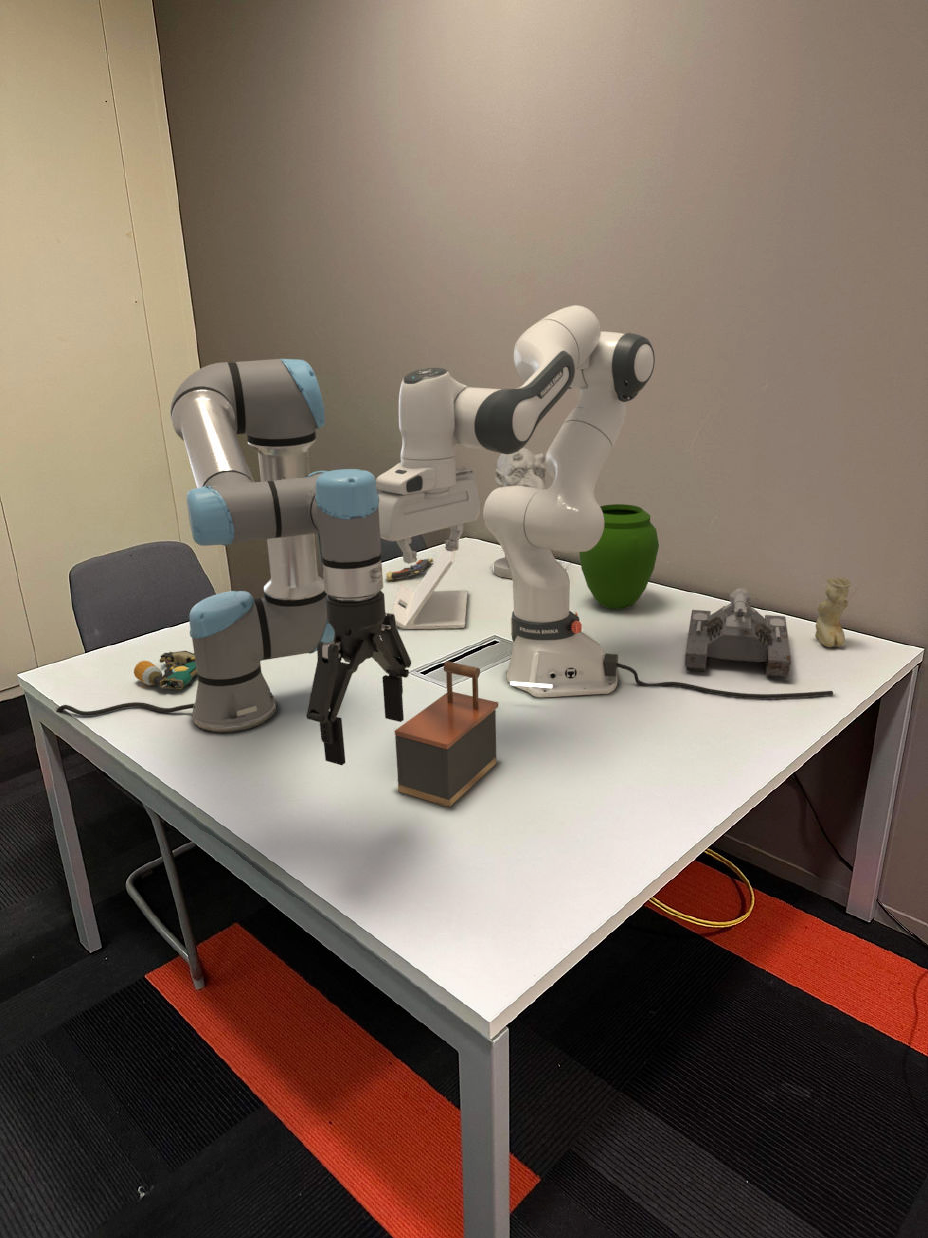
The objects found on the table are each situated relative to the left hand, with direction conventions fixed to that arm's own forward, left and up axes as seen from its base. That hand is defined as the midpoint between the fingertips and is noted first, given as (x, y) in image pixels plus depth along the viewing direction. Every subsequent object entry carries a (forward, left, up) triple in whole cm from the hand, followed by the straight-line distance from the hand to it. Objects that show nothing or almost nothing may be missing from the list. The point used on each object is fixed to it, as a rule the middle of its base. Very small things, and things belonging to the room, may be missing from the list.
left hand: (366, 739), depth 117 cm
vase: (-6, +111, -17) cm, 112 cm away
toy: (+28, +92, -17) cm, 98 cm away
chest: (0, +21, -17) cm, 27 cm away
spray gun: (-72, +28, -17) cm, 80 cm away
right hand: (-10, +33, +16) cm, 38 cm away
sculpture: (+44, +108, -17) cm, 117 cm away
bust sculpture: (-38, +122, -17) cm, 129 cm away
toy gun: (-69, +111, -17) cm, 131 cm away
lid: (0, +21, -7) cm, 23 cm away
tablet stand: (-46, +86, -17) cm, 99 cm away
